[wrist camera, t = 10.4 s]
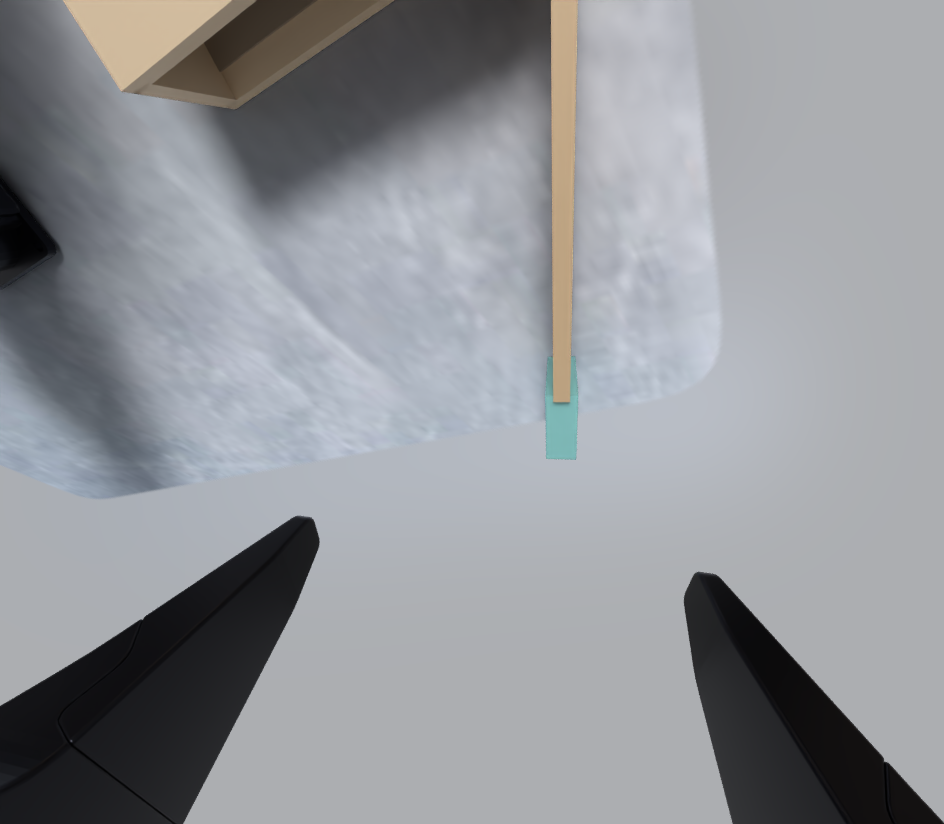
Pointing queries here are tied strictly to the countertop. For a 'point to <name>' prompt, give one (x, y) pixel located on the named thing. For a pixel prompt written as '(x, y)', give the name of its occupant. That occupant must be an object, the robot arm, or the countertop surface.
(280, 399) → the countertop surface
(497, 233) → the countertop surface
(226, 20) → the kraft carton
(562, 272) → the carton flap
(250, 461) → the countertop surface
